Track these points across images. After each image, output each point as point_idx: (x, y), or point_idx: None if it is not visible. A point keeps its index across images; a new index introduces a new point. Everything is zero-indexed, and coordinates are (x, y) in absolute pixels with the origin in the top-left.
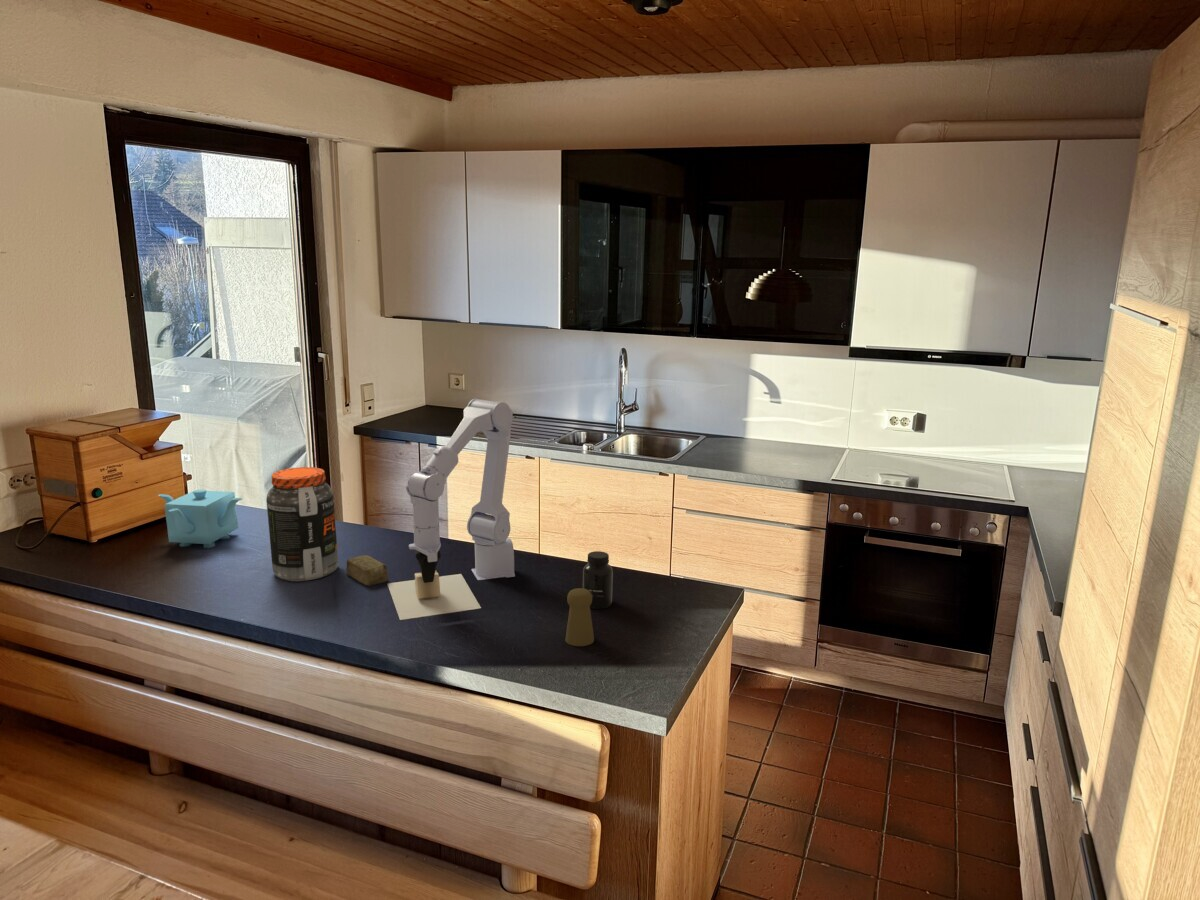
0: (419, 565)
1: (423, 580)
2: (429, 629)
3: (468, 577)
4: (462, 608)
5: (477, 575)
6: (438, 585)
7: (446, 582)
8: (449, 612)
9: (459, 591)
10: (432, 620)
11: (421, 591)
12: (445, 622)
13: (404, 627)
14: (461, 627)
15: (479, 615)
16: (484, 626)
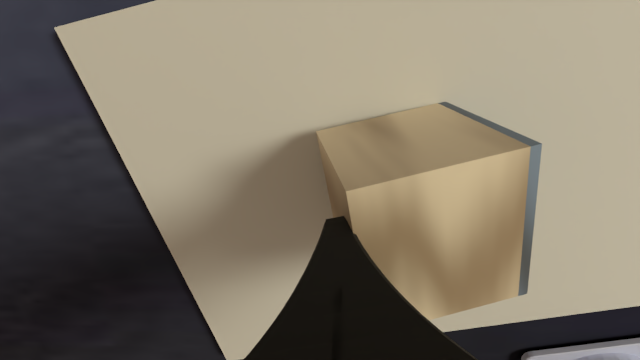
0: (394, 290)
1: (323, 227)
2: (19, 184)
3: (597, 320)
4: (223, 308)
5: (580, 358)
6: None
7: (557, 249)
8: (180, 265)
9: None
10: (120, 193)
11: (326, 167)
12: (106, 243)
13: (8, 59)
14: (69, 295)
15: (186, 345)
16: (93, 355)
